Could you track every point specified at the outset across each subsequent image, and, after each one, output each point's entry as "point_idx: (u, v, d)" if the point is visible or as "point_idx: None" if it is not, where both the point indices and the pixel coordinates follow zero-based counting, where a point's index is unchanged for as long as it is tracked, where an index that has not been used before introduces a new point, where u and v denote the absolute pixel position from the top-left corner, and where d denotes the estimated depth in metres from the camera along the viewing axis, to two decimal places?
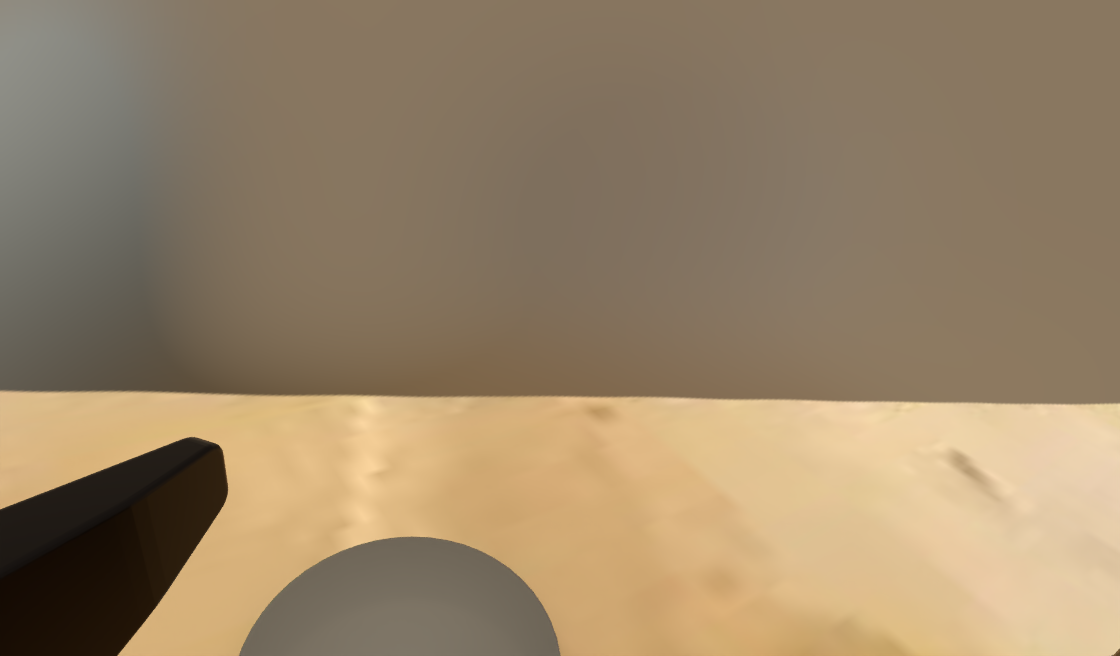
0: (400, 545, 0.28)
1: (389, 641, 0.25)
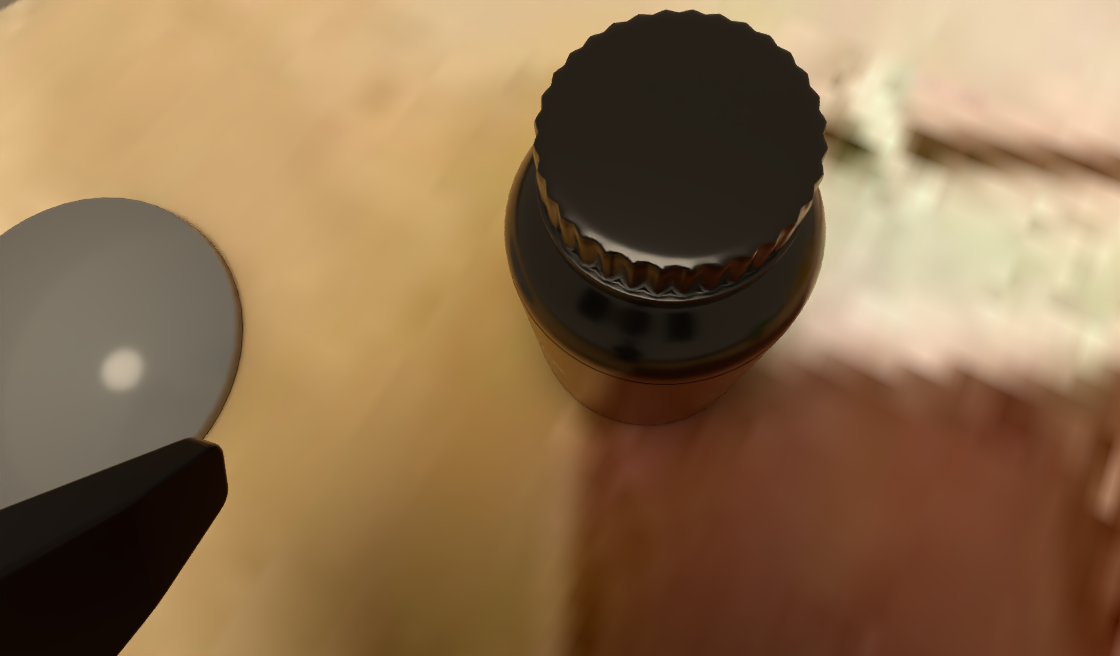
0: (18, 235, 0.25)
1: (52, 336, 0.24)
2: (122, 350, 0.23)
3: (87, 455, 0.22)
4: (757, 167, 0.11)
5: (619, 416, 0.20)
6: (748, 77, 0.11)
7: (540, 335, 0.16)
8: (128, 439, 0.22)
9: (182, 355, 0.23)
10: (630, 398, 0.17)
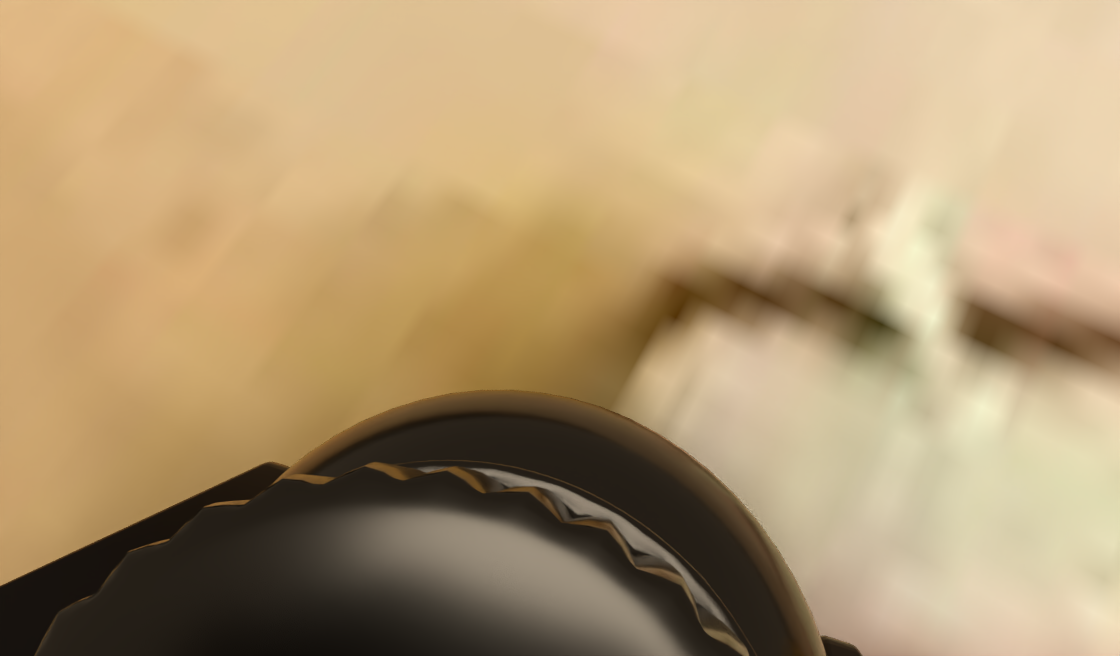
0: None
1: None
2: None
3: None
4: None
5: None
6: None
7: None
8: None
9: None
10: None
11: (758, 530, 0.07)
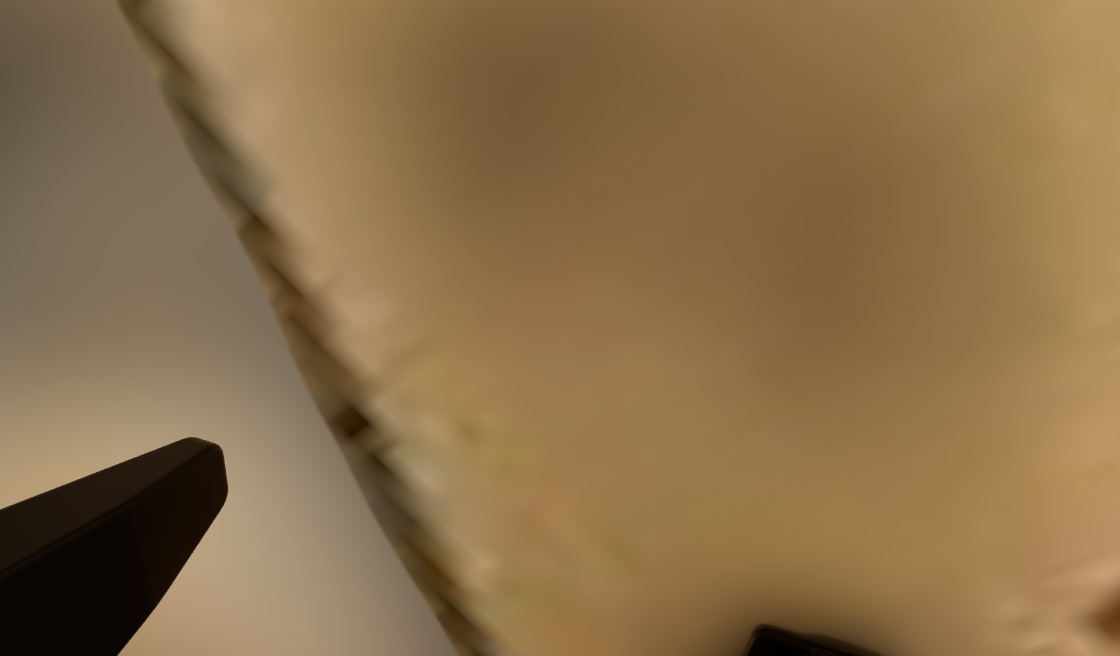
0: None
1: None
2: None
3: None
4: None
5: None
6: None
7: None
8: None
9: None
10: None
11: None
